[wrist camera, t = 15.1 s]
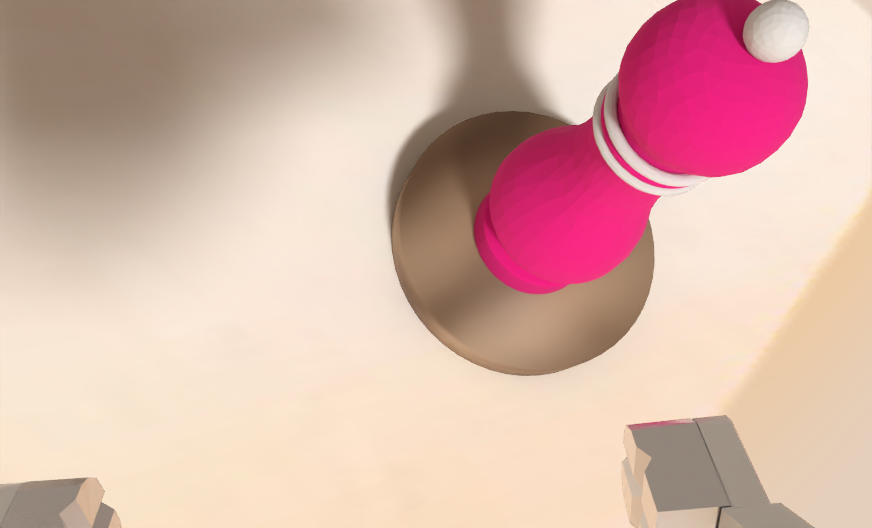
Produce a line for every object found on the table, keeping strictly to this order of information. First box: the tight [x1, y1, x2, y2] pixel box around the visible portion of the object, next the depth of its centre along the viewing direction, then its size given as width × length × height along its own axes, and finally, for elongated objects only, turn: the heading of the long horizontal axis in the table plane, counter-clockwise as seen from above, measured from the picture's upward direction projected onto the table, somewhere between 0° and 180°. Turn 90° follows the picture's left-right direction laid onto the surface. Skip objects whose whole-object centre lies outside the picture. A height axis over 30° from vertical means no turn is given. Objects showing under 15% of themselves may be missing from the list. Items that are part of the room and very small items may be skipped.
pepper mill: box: [474, 0, 809, 294], centre depth 31 cm, size 7×7×20 cm
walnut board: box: [392, 111, 654, 376], centre depth 42 cm, size 14×14×2 cm
